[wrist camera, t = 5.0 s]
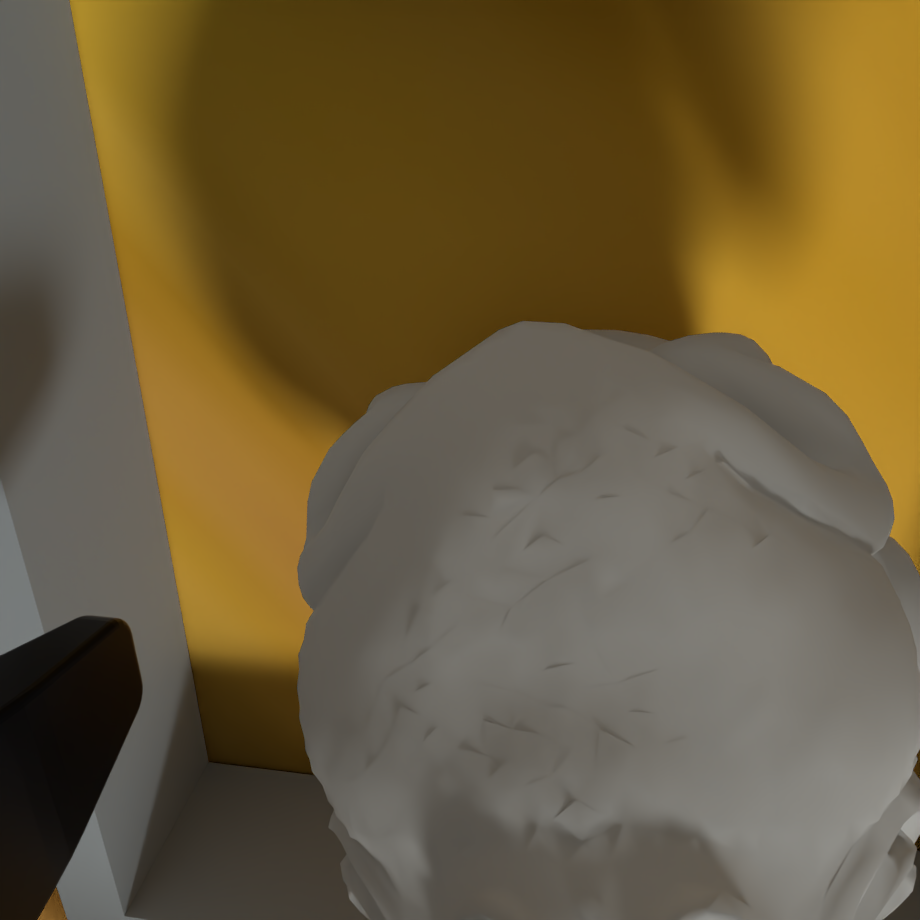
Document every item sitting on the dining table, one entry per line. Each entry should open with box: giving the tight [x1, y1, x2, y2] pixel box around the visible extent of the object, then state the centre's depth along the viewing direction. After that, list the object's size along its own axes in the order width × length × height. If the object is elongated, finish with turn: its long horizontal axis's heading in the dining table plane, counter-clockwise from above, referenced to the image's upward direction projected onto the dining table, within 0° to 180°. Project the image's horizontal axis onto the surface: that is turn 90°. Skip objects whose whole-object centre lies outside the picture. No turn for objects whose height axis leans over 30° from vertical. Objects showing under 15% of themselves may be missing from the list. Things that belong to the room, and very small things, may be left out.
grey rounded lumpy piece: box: [297, 321, 920, 920], centre depth 8 cm, size 6×7×7 cm
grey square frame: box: [0, 0, 920, 920], centre depth 10 cm, size 15×15×3 cm
